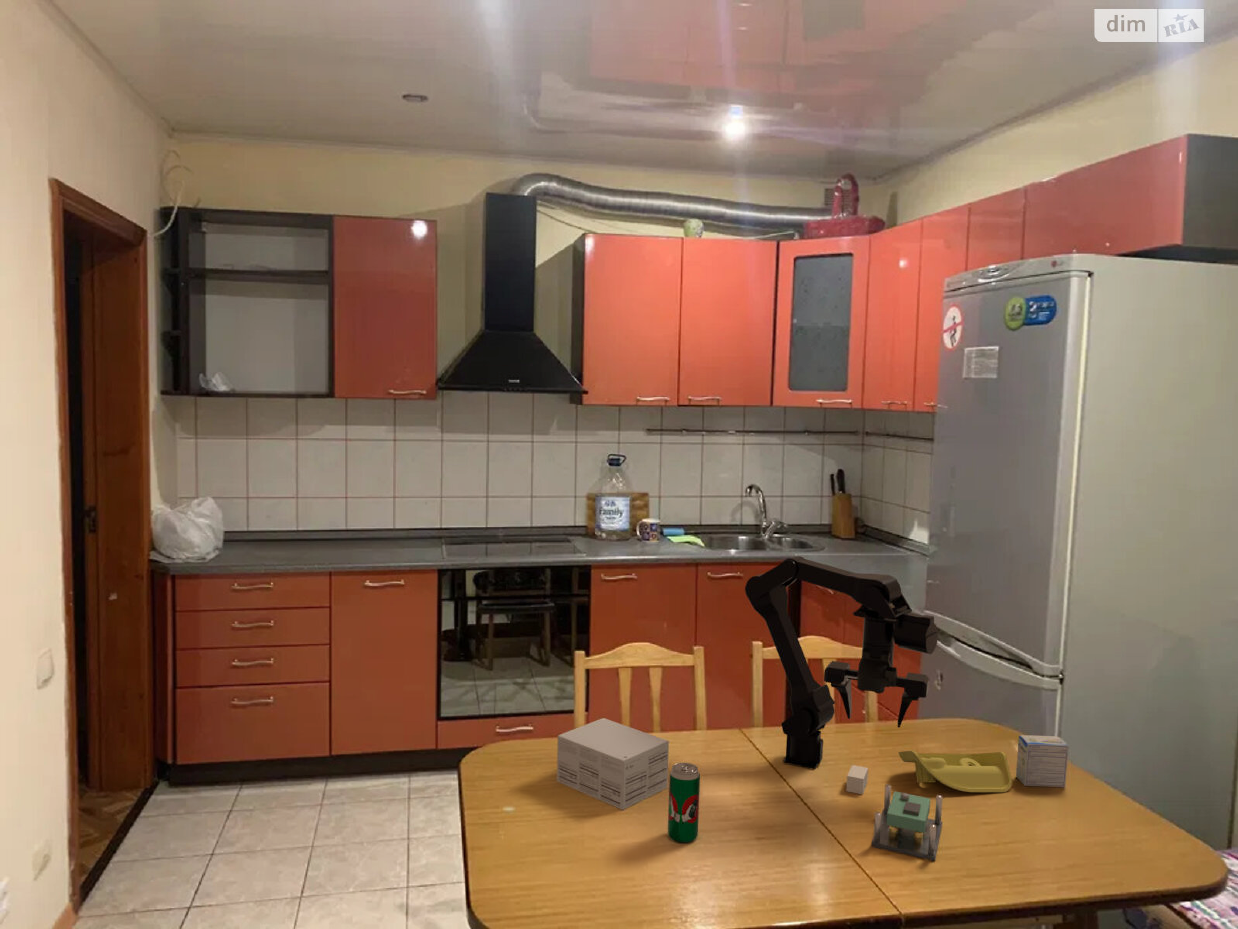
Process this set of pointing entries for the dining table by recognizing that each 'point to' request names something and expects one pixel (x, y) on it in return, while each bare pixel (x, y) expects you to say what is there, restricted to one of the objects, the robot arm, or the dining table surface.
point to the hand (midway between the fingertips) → (873, 722)
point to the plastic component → (963, 770)
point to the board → (908, 812)
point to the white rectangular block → (857, 779)
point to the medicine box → (1042, 761)
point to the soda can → (683, 802)
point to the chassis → (908, 833)
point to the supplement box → (613, 762)
